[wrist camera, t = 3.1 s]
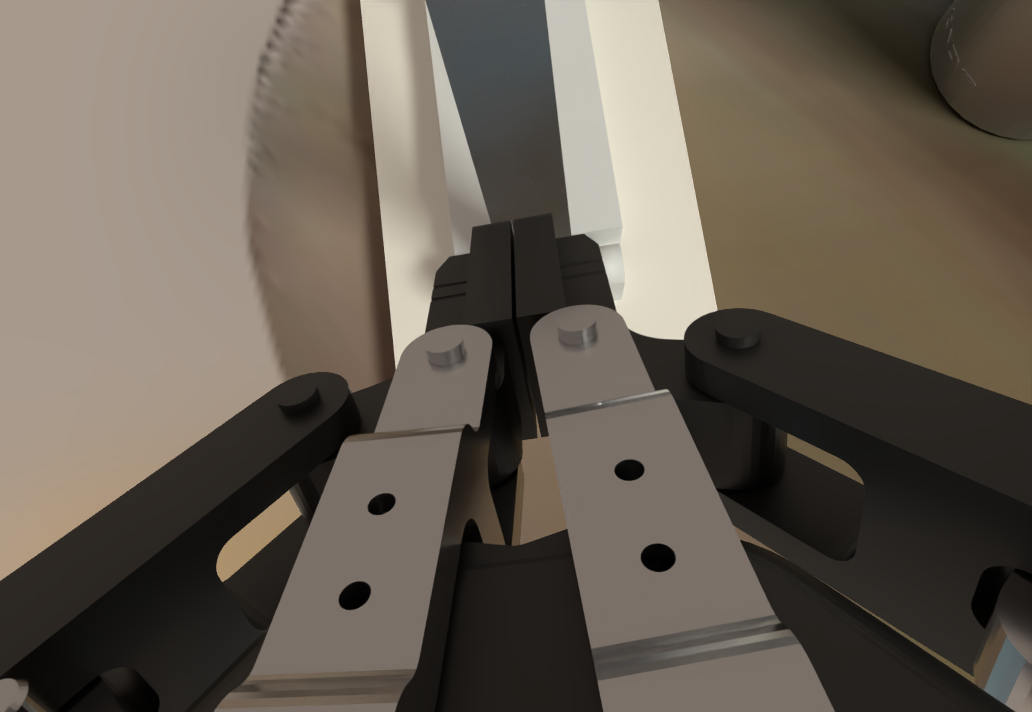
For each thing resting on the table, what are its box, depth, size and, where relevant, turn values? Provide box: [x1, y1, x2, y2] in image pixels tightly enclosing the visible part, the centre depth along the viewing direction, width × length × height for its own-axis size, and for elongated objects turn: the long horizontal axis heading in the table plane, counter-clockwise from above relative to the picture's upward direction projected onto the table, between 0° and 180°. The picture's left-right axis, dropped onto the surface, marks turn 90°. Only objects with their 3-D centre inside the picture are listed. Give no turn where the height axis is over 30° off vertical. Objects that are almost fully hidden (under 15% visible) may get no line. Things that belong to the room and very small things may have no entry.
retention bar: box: [425, 0, 572, 238], centre depth 22 cm, size 3×19×1 cm
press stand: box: [360, 0, 717, 368], centre depth 33 cm, size 16×25×7 cm, turn 8°
